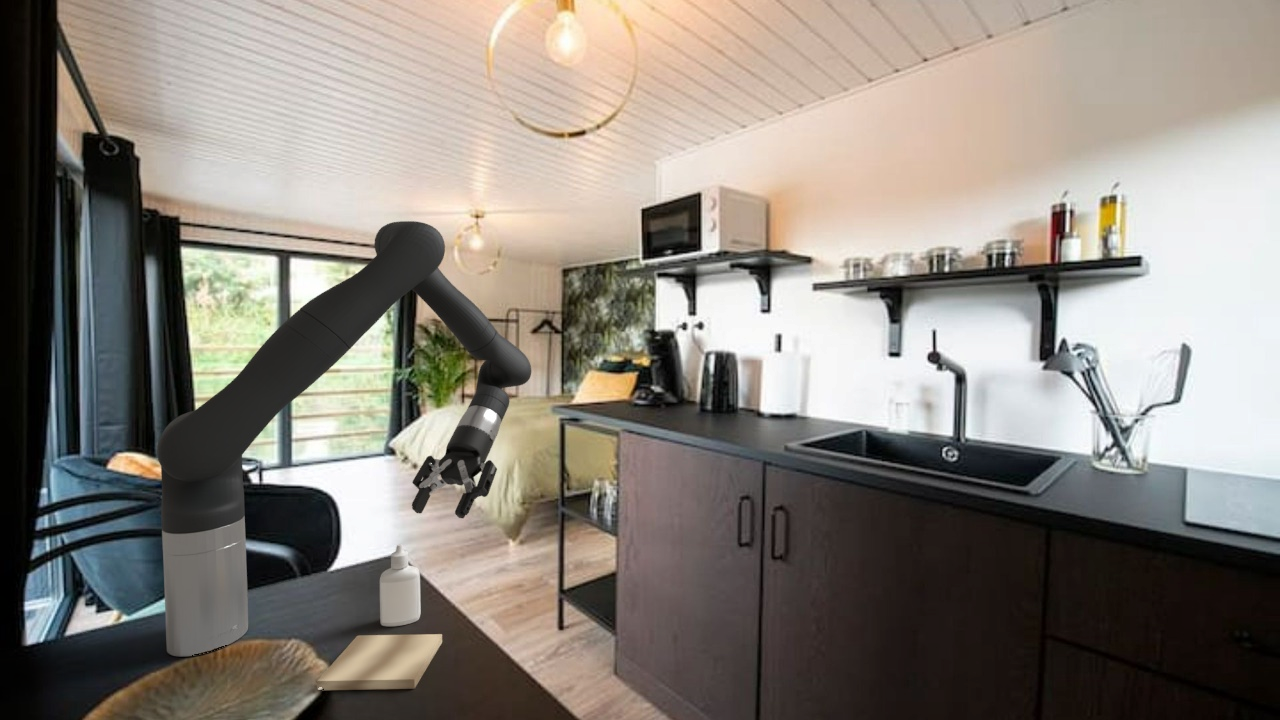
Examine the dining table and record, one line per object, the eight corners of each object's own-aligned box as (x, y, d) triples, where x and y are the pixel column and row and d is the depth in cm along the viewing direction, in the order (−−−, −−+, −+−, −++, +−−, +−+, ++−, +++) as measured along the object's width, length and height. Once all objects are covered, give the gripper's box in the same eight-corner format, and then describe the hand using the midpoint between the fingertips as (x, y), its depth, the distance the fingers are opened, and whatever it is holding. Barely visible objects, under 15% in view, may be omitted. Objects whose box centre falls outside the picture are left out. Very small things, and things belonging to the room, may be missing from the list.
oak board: (317, 690, 66) (316, 681, 66) (357, 643, 76) (357, 635, 76) (414, 688, 66) (414, 679, 66) (442, 642, 76) (442, 634, 76)
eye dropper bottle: (407, 630, 79) (406, 551, 79) (375, 626, 80) (373, 548, 80) (425, 615, 83) (424, 540, 83) (394, 611, 85) (392, 537, 84)
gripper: (433, 421, 100) (391, 499, 89) (500, 425, 96) (464, 507, 85) (451, 444, 105) (413, 519, 95) (515, 448, 101) (482, 527, 91)
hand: (437, 513), depth 90 cm, fingers open, 8 cm apart
